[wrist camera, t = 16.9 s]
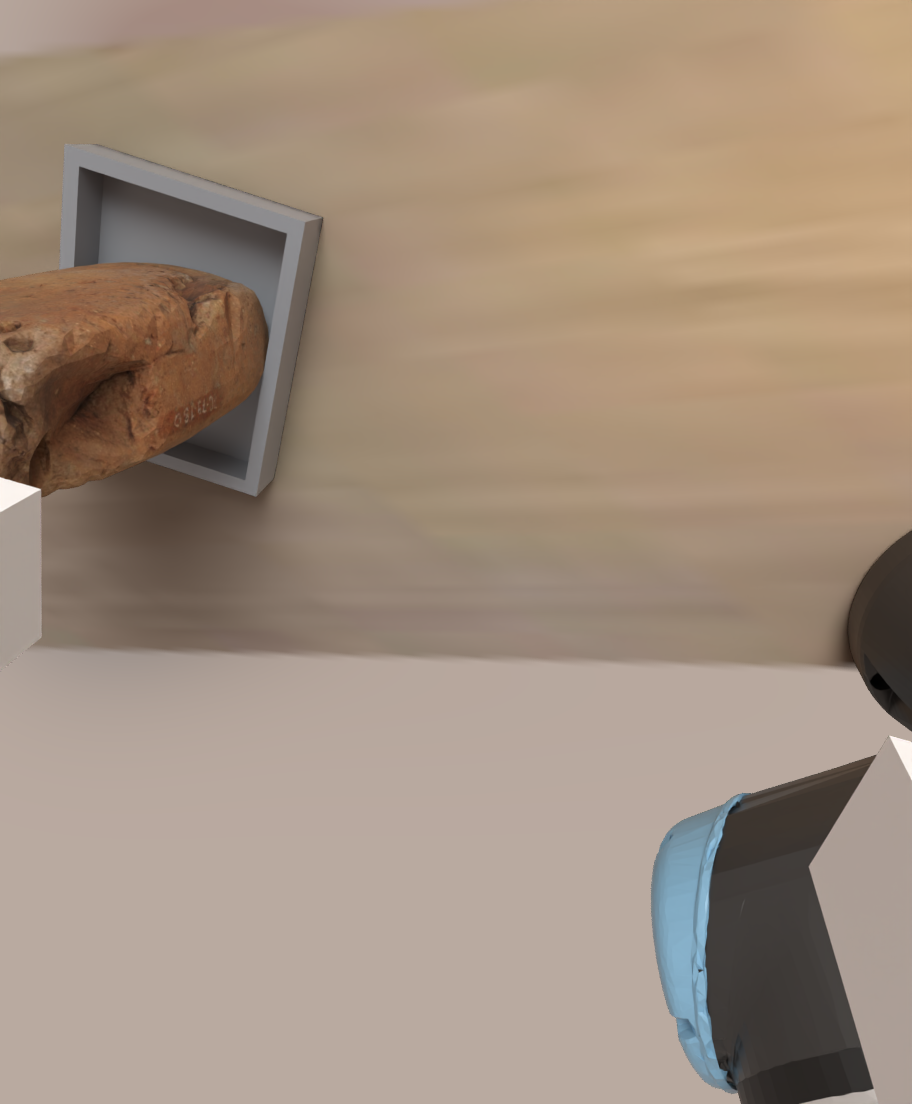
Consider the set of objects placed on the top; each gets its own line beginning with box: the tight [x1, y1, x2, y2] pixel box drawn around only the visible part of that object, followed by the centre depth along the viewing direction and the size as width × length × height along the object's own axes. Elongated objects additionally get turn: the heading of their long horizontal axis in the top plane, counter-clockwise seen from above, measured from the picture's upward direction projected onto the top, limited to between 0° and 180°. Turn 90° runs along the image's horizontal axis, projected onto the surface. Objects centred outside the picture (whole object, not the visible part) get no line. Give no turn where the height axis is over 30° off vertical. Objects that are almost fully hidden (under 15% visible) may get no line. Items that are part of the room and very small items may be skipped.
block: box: [0, 262, 269, 497], centre depth 37 cm, size 11×8×20 cm
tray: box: [59, 144, 323, 497], centre depth 45 cm, size 13×16×3 cm
